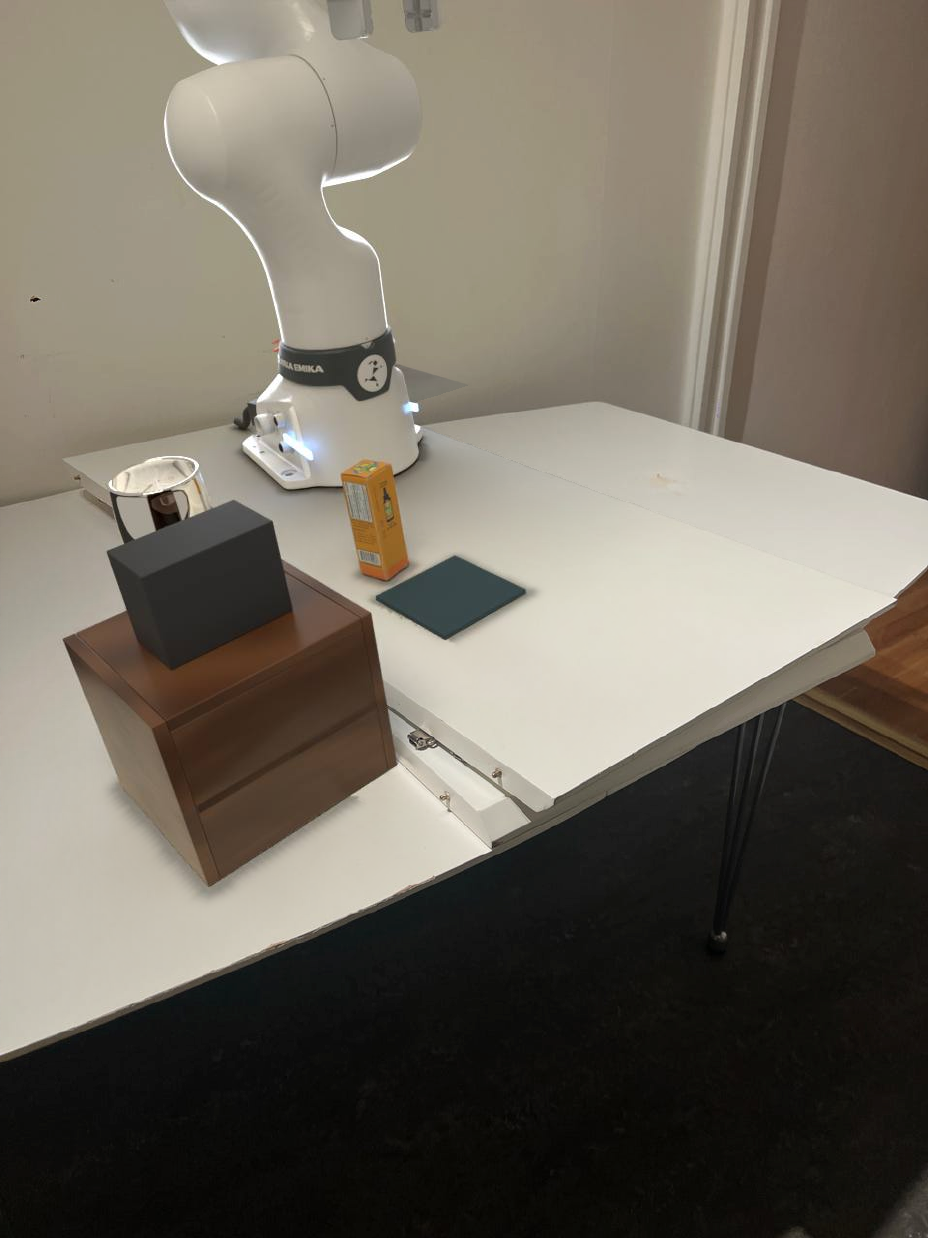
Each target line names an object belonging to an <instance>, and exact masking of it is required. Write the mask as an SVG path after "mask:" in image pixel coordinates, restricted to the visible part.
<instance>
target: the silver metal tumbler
mask: <svg viewBox="0 0 928 1238" xmlns="http://www.w3.org/2000/svg"><path fill="white" fill-rule="evenodd" d="M106 489H107V492H108V495H109V500H110V504H111V508H112V512H113V517H114V520H115V524H116V528H117V531H118V534H119V538H120V541H121V543H122V544H121V545H123V544H125V543H128V542H130V541H132V540H135V539H137V538H140V537H142V536H145V535H147V534H150V533H152V532H155V531H157V530H160V529H162V528H165V527H167V526H170V525H172V524H175V523H177V522H180V521H182V520H184V519H187V518H189V517H192V516H194V515H197V514H199V513H202V512H204V511H207V510H209V509H212V508H214V507H213V503H212V500H211V498H210V493H209V492H208V489H207V486H206V483H205V480H204V478H203V475H202V472H201V469H200V464H199V463H198V462H197V461H195V459H192V458H189V457H185V456H177V455H176V456H172V455H171V456H160V457H152V458H148V459H144V460H140V461H137V462H133V463H131V464H129V465H127V466H125V467H123V468H120V469H119V470H117V471H115V472H114V473H113V474H112V475H111V476H109V478H108V479H107V482H106Z"/></svg>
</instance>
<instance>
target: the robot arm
mask: <svg viewBox="0 0 928 1238" xmlns="http://www.w3.org/2000/svg"><path fill="white" fill-rule="evenodd" d="M162 2H163V4H164V5H165V7H166V9H167V11H168V12H169V15H170V16H171V18H172V20H173V22H174V23H175V25H176V26H177V28H178V30H179V32H180V34H181V35H182V37H183V39H184V40H185V41H186V43H187V44H188V45H189V46H190V47H191V48H192V49H193V50H194V51H195V52H196V53H197V54H198V55H200V56H201V57H203V58H205V59H206V60H208V61H210V63H214V64H215V66H211V67H209V68H207V69H204V70H201V71H199V72H197V73H195V74H193V75H190V76H187V77H186V78H183V79H181V80H179V81H178V82H176V83H175V84H174V86H173V88H172V90H171V92H170V94H169V98H168V100H167V103H166V106H165V107H166V108H165V113H164V133H165V134H164V135H165V136H164V137H165V143H166V146H167V149H168V154H169V156H170V158H171V161H172V163H173V165H174V166H175V168H176V171H177V172H178V174H179V175H180V177H182V179H183V181H185V183H186V184H187V185H188V186H189V187H190V188H191V189H192V190H193V191H194V192H195V193H197V194H198V195H199V197H202V199H205V200H206V201H208V202H210V203H211V204H214V205H215V206H217V207H218V208H220V210H222V211H224V212H225V213H226V214H227V215H228V216H229V217H230V218H232V219H233V220H234V222H235V223H236V224H237V225H238V226H239V228H241V229H242V231H243V232H244V233H245V235H246V236H247V237H248V239H249V240H250V242H251V244H252V245H253V247H254V249H255V250H256V252H257V254H258V256H259V258H260V261H261V263H262V266H263V269H264V271H265V274H266V277H267V281H268V285H269V290H270V292H271V293H270V294H271V296H272V297H271V298H272V300H273V305H274V309H275V313H276V318H277V322H278V327H279V331H280V336H281V338H280V339H276V340H273V341H272V342H271V344H272V345H275V344H278V346H277V347H276V348H274V349H273V352H274V353H277V352H278V354H277V372H278V374H277V375H276V377H275V378H274V380H272V381H271V383H270V384H269V385H268V387H267V388H266V389H265V390H264V391H263V392H262V393H261V395H260V396H259V397H257V398H255V399H252V400H250V401H248V402H247V403H246V404H247V405H246V406H245V407H244V409H243V410H242V418H240V417H235V418H234V419H233V424H234V425H235V426H237V427H238V428H241V429H248V428H249V427H250V425H251V426H253V427H255V429H256V431H257V432H254V433H253V434H251V435H250V436H249V437H247V438H246V439H245V440H244V441H243V442H242V451H243V453H245V454H246V455H247V456H248V457H249V458H250V459H251V460H253V461H254V462H255V463H256V464H257V465H258V466H259V467H260V468H261V469H262V470H264V471H265V472H266V473H267V474H268V475H269V476H270V477H271V478H272V479H273V480H275V482H276V483H278V484H279V485H280V486H281V487H282V488H284V489H285V490H299V489H307V488H313V487H343V485H342V480H341V475H340V474H341V473H342V472H344V471H346V470H347V469H349V468H350V467H352V466H354V465H355V464H357V463H358V462H360V461H361V460H363V459H365V460H373V461H379V462H384V463H390V464H391V465H392V470H393V476H394V475H397V474H399V473H401V472H404V471H405V470H406V469H408V468H410V467H411V465H413V464H414V463H415V461H416V460H417V459H418V457H419V455H420V449H419V446H418V444H419V442H420V441H421V439H422V438H423V431H422V427H421V426H420V425H418V424H415V421H414V417H413V413H412V412H414V413H415V412H416V413H417V412H419V404H418V403H417V402H416V403H415V402H411V401H410V398H409V394H408V389H407V385H406V381H405V376H404V373H403V372H402V370H401V369H400V368H398V367H396V366H395V364H396V363H397V353H396V340H395V338H394V334H393V330H392V327H391V326H390V325H389V324H388V320H387V313H386V305H385V298H384V297H385V296H384V290H383V282H382V281H383V280H382V274H381V267H380V265H381V264H380V260H379V256H378V255H377V253H376V251H375V249H374V247H372V245H371V244H370V243H369V242H368V241H367V239H365V238H364V237H362V236H361V235H359V234H358V233H356V232H354V231H351V230H349V229H347V228H344V227H341V226H339V225H337V223H336V222H335V221H334V219H333V218H332V216H331V214H330V212H329V209H328V207H327V204H326V201H325V197H324V192H323V188H324V187H330V186H334V185H340V184H343V183H348V182H353V181H358V180H362V179H368V178H371V177H374V176H376V175H378V174H380V173H382V172H384V171H386V170H388V169H390V168H392V167H394V166H396V165H398V164H400V163H401V162H403V161H405V160H406V159H408V158H409V157H410V156H411V155H412V154H413V152H414V151H415V149H416V147H417V145H418V142H419V140H420V136H421V131H422V126H423V105H422V100H421V95H420V92H419V91H420V90H419V88H418V86H417V83H416V80H415V79H414V77H413V75H412V74H411V72H410V70H409V68H408V67H407V66H406V65H405V64H404V62H402V60H401V59H399V58H398V57H396V56H394V55H392V54H390V53H387V52H385V51H383V50H380V49H379V48H376V47H374V46H372V45H371V44H369V43H367V42H365V41H364V40H362V39H365V38H369V37H370V36H371V35H372V34H373V31H374V22H373V21H374V20H373V19H372V5H371V3H372V2H371V0H326V6H327V12H326V11H325V10H324V9H323V8H322V7H321V6H320V5H319V4H318V3H317V2H316V1H314V0H162ZM402 6H403V7H402V8H403V13H404V25H405V28H406V30H407V31H408V32H410V33H424V32H431V31H432V32H434V31H438V29H440V28H441V26H442V13H441V12H442V11H441V0H402Z"/></svg>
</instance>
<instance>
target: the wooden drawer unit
mask: <svg viewBox="0 0 928 1238" xmlns="http://www.w3.org/2000/svg"><path fill="white" fill-rule="evenodd" d="M281 560H282V564H283V568H284V573H285V577H286V582H287V586H288V590H289V595H290V599H291V604H292V608H293V610H292V611H290V612H288V613H286V614H284V615H282V616H280V617H278V618H276V619H274V620H272V621H270V622H268V623H266V624H264V625H262V626H260V627H258V628H256V629H254V630H252V631H250V632H248V633H246V634H244V635H242V636H240V637H238V638H236V639H234V640H232V641H230V642H228V643H226V644H224V645H222V646H220V647H218V648H216V649H214V650H212V651H210V652H208V653H206V654H204V655H202V656H200V657H198V658H196V659H194V660H191V661H189V662H187V663H185V664H183V665H181V666H179V667H177V668H175V669H173V670H170V669H169V668H168V667H167V666H166V665H165V664H163V663H162V662H161V661H160V660H159V659H158V658H157V657H155V656H154V655H153V654H152V653H151V652H150V651H149V650H147V649H146V648H145V647H144V646H143V645H142V644H141V643H140V642H138V641H137V639H136V636H135V633H134V630H133V627H132V624H131V621H130V619H129V616H128V613H127V610H126V609H125V610H124V611H122V612H119V613H118V614H115V615H113V616H111V617H108V618H106V619H104V620H102V621H100V622H97V623H95V624H93V625H90V626H88V627H86V628H83V629H81V630H79V631H77V632H76V633H72V634H70V635H68V636H65V637H63V638H62V643H63V645H64V647H65V650H66V653H67V654H68V656H69V659H70V662H71V664H72V667H73V669H74V671H75V674H76V676H77V679H78V682H79V684H80V686H81V688H82V692H83V694H84V697H85V699H86V702H87V704H88V706H89V709H90V712H91V714H92V717H93V719H94V722H95V724H96V727H97V729H98V731H99V734H100V737H101V739H102V741H103V745H104V747H105V749H106V751H107V753H108V756H109V758H110V759H109V760H110V761H111V763H112V767H113V769H114V772H115V774H116V776H117V779H118V781H119V784H120V786H121V788H122V789H123V790H124V791H125V792H126V794H127V795H128V796H129V797H130V798H131V799H132V801H134V803H135V804H136V805H137V807H139V808H140V809H141V811H142V812H143V813H144V814H145V815H146V817H147V818H148V819H149V820H150V821H151V822H152V824H153V825H154V826H155V827H156V828H157V829H158V830H159V832H160V833H161V834H162V835H163V837H164V838H165V839H167V841H168V842H169V843H170V845H172V847H173V848H174V849H175V850H176V851H177V852H178V853H179V854H180V855H181V857H182V858H183V859H184V861H186V863H187V864H188V865H189V866H190V867H191V868H192V870H193V871H194V872H195V873H196V874H197V876H198V877H199V878H200V879H201V880H202V881H203V883H205V885H206V886H207V887H210V886H212V885H214V884H215V883H217V882H219V881H220V880H221V879H223V878H225V877H227V876H228V875H230V874H231V873H232V872H234V871H236V870H237V869H239V868H240V867H242V866H243V865H245V864H246V863H247V862H249V861H251V860H253V859H254V858H255V857H257V856H258V855H260V854H262V853H264V852H265V851H266V850H268V849H269V848H271V847H272V846H274V845H276V844H277V843H278V842H280V841H282V840H283V839H285V838H287V837H288V836H290V835H291V834H293V833H294V832H295V831H297V830H299V829H300V828H301V827H303V826H305V825H306V824H308V823H310V822H311V821H313V820H314V819H315V818H317V817H319V816H321V815H322V814H323V813H325V812H326V811H328V810H330V809H332V808H333V807H334V806H335V805H337V804H339V803H340V802H342V801H344V800H345V799H346V798H348V797H350V796H351V795H353V794H355V793H356V792H357V791H359V790H360V789H362V788H363V787H365V786H367V785H369V784H370V783H371V782H374V780H376V779H378V778H379V777H381V776H382V775H384V774H385V773H387V772H388V771H389V770H391V769H392V768H394V767H396V766H397V765H398V761H397V755H396V749H395V743H394V737H393V731H392V725H391V720H390V713H389V708H388V707H389V706H388V702H387V695H386V689H385V685H384V678H383V673H382V667H381V661H380V655H379V650H378V643H377V638H376V632H375V626H374V619H373V615H372V614H373V613H372V612H371V611H369V610H368V609H366V608H365V607H363V606H361V605H359V604H358V603H356V602H355V601H353V600H351V599H350V598H348V597H346V596H345V595H343V594H341V593H339V592H338V591H336V590H334V589H333V588H331V587H329V586H328V585H326V584H324V583H323V582H321V581H319V580H318V579H316V578H314V577H313V576H311V575H309V574H308V573H306V572H304V571H302V570H301V569H299V568H297V567H296V566H295V565H293V564H291V563H289V562H288V561H286V560H284V559H283V558H281Z"/></svg>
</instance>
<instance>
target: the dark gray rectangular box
mask: <svg viewBox="0 0 928 1238" xmlns="http://www.w3.org/2000/svg"><path fill="white" fill-rule="evenodd" d="M280 551H281V550H280V547H279V542H278V537H277V533H276V529H275V525H274V521H273V520H271V518H268V517H266V516H264V515H263V514H261V513H259V512H258V511H255V510H254V509H252V508H250V507H249V506H247V505H244V504H243V503H241V502H239V501H237V500H236V499H231V500H229V501H227V502H223V503H221V504H220V505H217V506H214V507H213V508H212V509H209V510H207V511H204V512H202V513H199V514H197V515H194V516H192V517H189V518H187V519H184V520H182V521H180V522H177V523H175V524H172V525H170V526H167V527H165V528H162V529H160V530H157V531H155V532H152V533H150V534H147V535H145V536H142V537H140V538H137V539H135V540H132V541H130V542H128V543H125V544H119V545H118V546H115V547H112V548H110V549H108V550H106V555H107V558H108V561H109V564H110V567H111V569H112V572H113V576H114V578H115V581H116V584H117V586H118V589H119V592H120V595H121V598H122V601H123V604H124V608H125V611H126V610H127V613H128V616H129V619H130V621H131V624H132V627H133V630H134V633H135V636H136V639H137V641H138V642H140V643H141V644H142V645H143V646H144V647H145V648H146V649H147V650H149V651H150V652H151V653H152V654H153V655H154V656H155V657H157V658H158V659H159V660H160V661H161V662H162V663H163V664H165V665H166V666H167V667H168V668H169V669H170V670H173V669H175V668H177V667H179V666H181V665H183V664H185V663H187V662H189V661H191V660H194V659H196V658H198V657H200V656H202V655H204V654H206V653H208V652H210V651H212V650H214V649H216V648H218V647H220V646H222V645H224V644H226V643H228V642H230V641H232V640H234V639H236V638H238V637H240V636H242V635H244V634H246V633H248V632H250V631H252V630H254V629H256V628H258V627H260V626H262V625H264V624H266V623H268V622H270V621H272V620H274V619H276V618H278V617H280V616H282V615H284V614H286V613H288V612H290V611H292V610H293V608H292V604H291V599H290V595H289V590H288V586H287V582H286V577H285V573H284V568H283V564H282V560H281V559H282V555H281V552H280Z"/></svg>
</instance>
